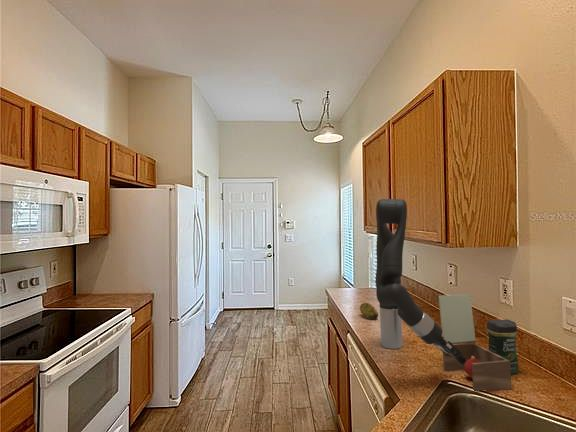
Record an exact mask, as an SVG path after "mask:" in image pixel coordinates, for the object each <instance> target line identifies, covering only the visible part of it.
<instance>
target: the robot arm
mask: <svg viewBox="0 0 576 432" xmlns="http://www.w3.org/2000/svg"><path fill="white" fill-rule="evenodd" d="M375 217H376V247H375V249H376V250H375V251H376V271H375V283H374V284H375V287H376V293H375V295H376V299H377V301H378V303H379V321H380V322H379V323H380V324H379V325H380V326H379V327H380V328H379V329H380V346H381V347H382V348H385V349H389V350H395V349H396V350H397V349H400V348H403V332H402V331H403V329H402V326H403V325H402V321H403V322H404V323H405V324H406V325H407V326H408V327H409V328H410V329H411V330H412V331H413V333H414V334H416V336H417V337H418V338H419V339H421V340H422V341H423V342H424V343H425V344H426V345H433V346H434V347H436V348H437V349H439V350H440V351H441V352H442V353H443V352H444V353H445V354H446V355H447V356H448V355H449V354H450V355H452V356H453V357H454V358H455V359H456V360H457V361H458V362H459V363H460V364H462V365H463V364H464V363H465V362H466V359H465V358H464V357H463V356H462V355H461V354H462V353H461V352H460V351H459V350H458V349H457V348H456V347H455V346H454V345H455V344H452V343H451V342H449V341H447V339H446V338H445V337H443V336H442V327H441V326H440V325H439V324H438V323H437V322H436V321H435V320H434V319H433V318H432V317H430V316H429V315H428V314H427V313H426V312H424V311H423V310H422V309H421V308H420V307H419V306H418V305H417V304H416V303H415V300H414V299H413V298H412V296H411V294H410V293H409V291H408V289H407V288H406V287H405V286H403V285H402V284H401V277H402V276H403V253H404V252H403V251H404V243H405V236H406V229H407V218H408V205H407V202H406V200H404V199H401V198H399V199H398V198H381V199H378V200H377V202H376V207H375ZM387 224H389V225H390V224H393V225H397V226H396V230H395V233H393V232H392V231H391V229H389V227H388V225H387ZM455 351H456V352H455ZM454 352H455V353H454Z"/></svg>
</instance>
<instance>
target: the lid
mask: <svg viewBox="0 0 576 432" xmlns="http://www.w3.org/2000/svg"><path fill="white" fill-rule="evenodd" d="M471 297H472V296H471V294H470V293H467V294H466V293H465V294H450V295H438V305H439V306H438V307H439V314H440V323H441V324H440V325H441V326H440V327H441V329H442V337H445V338H446V339H447V341H449V342H451V343H452V344H453V345H459V344H471V343H476V341H477V340H476V332H475V331H476V330H475V325H474V324H475V323H474V315H473V307H472V306H473V305H472V298H471Z"/></svg>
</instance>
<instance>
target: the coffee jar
mask: <svg viewBox="0 0 576 432" xmlns="http://www.w3.org/2000/svg"><path fill="white" fill-rule="evenodd" d="M486 332H487V336H488V348H487V350H489V351H491V352H493V353H495V354H497V355H499V356H501V357H503V358H505V359H507V360H509V361H510V364H511V375H514V374H518V373H519V372H520V368H519V361H518V354H517V345H516V344H517V343H516V340H517V336H518V326H517V323H516V322H515V321H513V320H511V319H508V318H507V319H491V320H490V319H489V320H487V322H486Z"/></svg>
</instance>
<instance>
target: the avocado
mask: <svg viewBox="0 0 576 432" xmlns="http://www.w3.org/2000/svg"><path fill="white" fill-rule="evenodd" d="M359 311H360V314H362V315H363V317H364V318H366V319H367V320H376V319H378V317H379V313H378V311H377V309H376V308H375V307H374V306H373V305H372V304H371V303H368V302H363V303H362V304H360V305H359Z"/></svg>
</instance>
